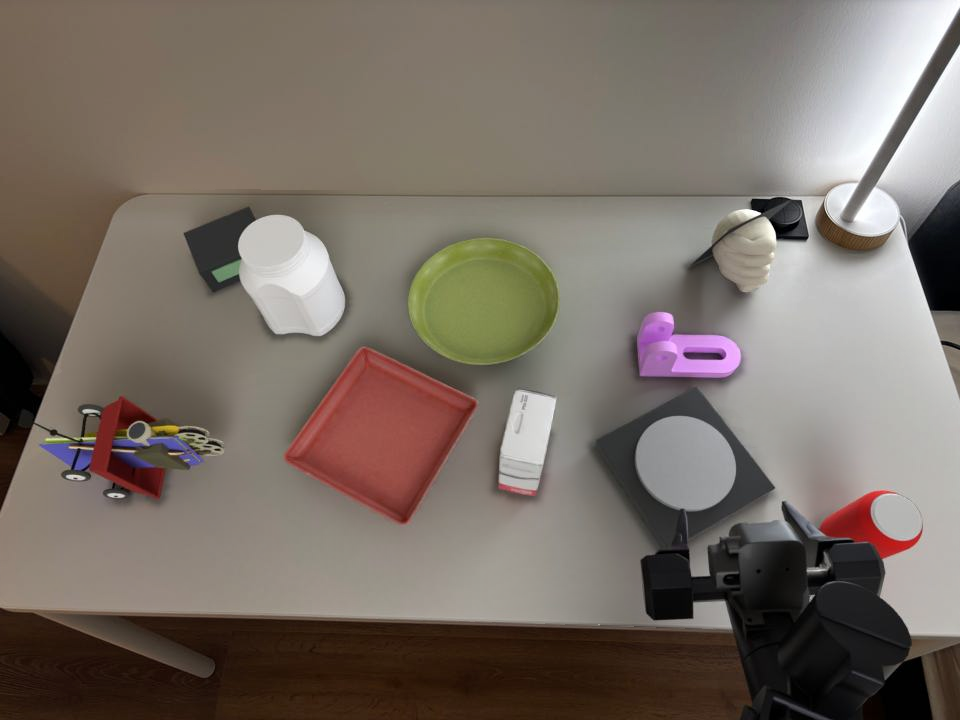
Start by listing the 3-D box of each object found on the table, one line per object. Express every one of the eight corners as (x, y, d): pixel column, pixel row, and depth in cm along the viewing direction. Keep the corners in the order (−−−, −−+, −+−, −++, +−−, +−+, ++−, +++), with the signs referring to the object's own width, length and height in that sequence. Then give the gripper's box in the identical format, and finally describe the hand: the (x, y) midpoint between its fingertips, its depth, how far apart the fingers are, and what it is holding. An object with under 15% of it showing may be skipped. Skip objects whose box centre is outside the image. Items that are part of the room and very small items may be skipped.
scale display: (278, 266, 96) (267, 245, 92) (213, 293, 95) (199, 273, 90) (260, 228, 100) (248, 206, 96) (197, 254, 98) (183, 232, 94)
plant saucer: (366, 354, 89) (361, 343, 86) (482, 411, 84) (481, 400, 81) (287, 467, 82) (279, 458, 79) (410, 535, 77) (406, 529, 74)
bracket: (639, 376, 86) (649, 350, 79) (636, 339, 88) (646, 311, 82) (740, 378, 85) (758, 352, 79) (734, 340, 87) (751, 313, 81)
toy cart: (96, 437, 86) (241, 422, 84) (79, 506, 81) (232, 492, 80) (-7, 381, 71) (167, 360, 69) (-34, 462, 66) (151, 443, 64)
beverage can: (881, 562, 73) (944, 538, 63) (830, 576, 73) (884, 554, 62) (854, 510, 76) (910, 479, 66) (804, 523, 76) (852, 493, 65)
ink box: (538, 498, 78) (542, 466, 68) (497, 489, 79) (495, 456, 69) (551, 433, 82) (557, 393, 72) (512, 425, 83) (512, 384, 73)
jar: (350, 280, 95) (324, 211, 81) (338, 337, 90) (309, 274, 77) (274, 277, 96) (235, 208, 82) (258, 333, 91) (215, 270, 78)
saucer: (587, 299, 92) (590, 286, 89) (495, 404, 85) (495, 394, 82) (474, 228, 98) (473, 214, 95) (380, 320, 91) (376, 308, 88)
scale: (769, 493, 78) (778, 485, 75) (664, 554, 75) (670, 548, 72) (692, 393, 84) (698, 383, 81) (594, 446, 81) (596, 437, 79)
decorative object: (772, 283, 94) (715, 311, 92) (735, 223, 96) (678, 250, 94) (825, 247, 82) (761, 280, 80) (782, 179, 83) (718, 209, 81)
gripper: (939, 590, 43) (848, 434, 56) (650, 604, 46) (626, 453, 59) (910, 682, 49) (834, 522, 62) (656, 689, 52) (634, 535, 65)
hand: (732, 507), depth 62 cm, fingers open, 9 cm apart
